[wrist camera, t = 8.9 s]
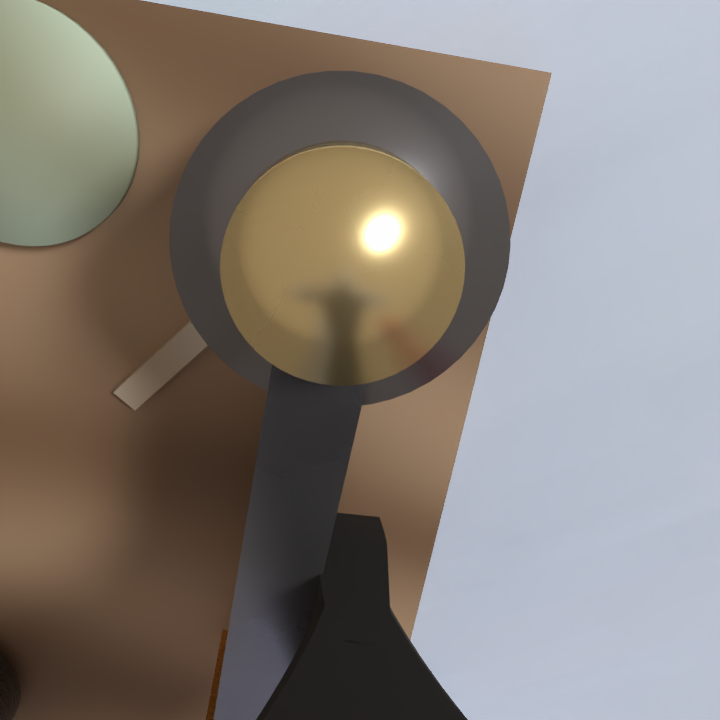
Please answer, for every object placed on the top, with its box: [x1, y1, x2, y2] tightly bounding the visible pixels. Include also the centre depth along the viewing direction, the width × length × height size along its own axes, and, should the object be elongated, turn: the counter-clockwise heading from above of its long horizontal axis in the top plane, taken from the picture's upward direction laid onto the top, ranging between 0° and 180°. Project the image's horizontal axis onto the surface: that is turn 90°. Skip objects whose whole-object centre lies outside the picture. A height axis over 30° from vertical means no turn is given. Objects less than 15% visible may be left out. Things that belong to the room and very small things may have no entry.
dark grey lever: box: [169, 71, 510, 720], centre depth 10 cm, size 12×4×4 cm, turn 168°
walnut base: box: [0, 0, 551, 720], centre depth 13 cm, size 17×16×2 cm
